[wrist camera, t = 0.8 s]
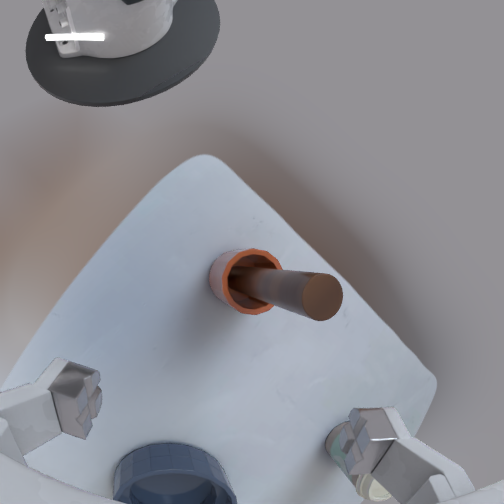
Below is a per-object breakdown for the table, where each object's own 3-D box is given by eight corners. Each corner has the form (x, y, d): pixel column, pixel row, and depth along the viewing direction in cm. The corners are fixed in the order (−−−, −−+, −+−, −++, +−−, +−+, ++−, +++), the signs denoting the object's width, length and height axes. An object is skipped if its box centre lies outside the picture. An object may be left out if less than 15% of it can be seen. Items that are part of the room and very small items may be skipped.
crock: (197, 275, 34) (207, 280, 27) (238, 239, 35) (257, 235, 29) (232, 315, 35) (250, 328, 28) (271, 279, 36) (296, 283, 30)
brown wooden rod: (219, 276, 34) (292, 297, 17) (237, 260, 34) (325, 263, 17) (235, 295, 34) (320, 330, 17) (253, 278, 35) (350, 297, 18)
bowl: (93, 479, 29) (88, 508, 23) (167, 420, 32) (171, 447, 26) (174, 529, 31) (181, 556, 26) (246, 478, 35) (261, 505, 29)
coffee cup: (306, 441, 37) (355, 488, 26) (354, 401, 39) (411, 436, 28) (331, 470, 39) (376, 513, 27) (373, 434, 41) (425, 468, 29)
